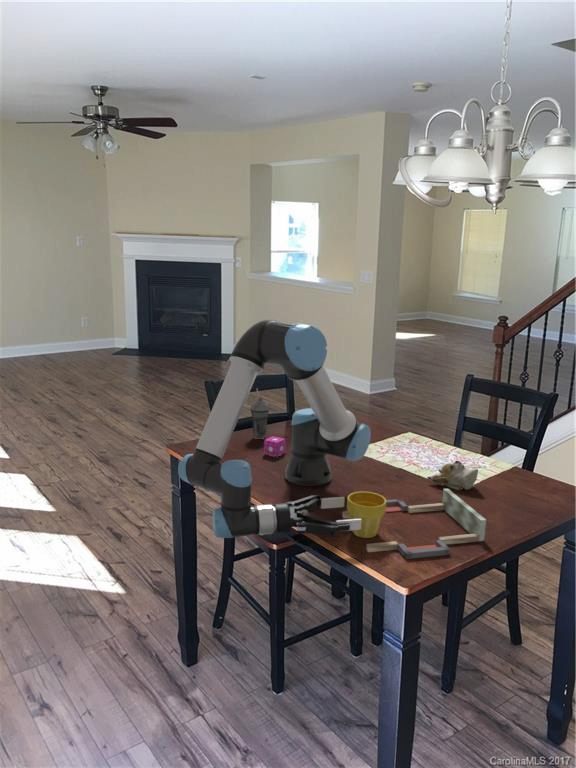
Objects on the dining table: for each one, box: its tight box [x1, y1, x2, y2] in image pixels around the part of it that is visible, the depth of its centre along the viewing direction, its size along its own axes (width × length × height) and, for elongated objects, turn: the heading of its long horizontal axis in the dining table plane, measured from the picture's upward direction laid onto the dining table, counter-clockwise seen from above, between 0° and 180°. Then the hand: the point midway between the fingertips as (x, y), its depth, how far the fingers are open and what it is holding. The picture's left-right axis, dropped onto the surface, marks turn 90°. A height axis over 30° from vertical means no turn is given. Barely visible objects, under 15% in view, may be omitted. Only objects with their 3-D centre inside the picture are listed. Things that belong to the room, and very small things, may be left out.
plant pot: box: [346, 491, 387, 539], centre depth 165 cm, size 10×10×10 cm
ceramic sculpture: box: [426, 460, 479, 491], centre depth 199 cm, size 11×9×15 cm
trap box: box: [341, 488, 487, 553], centre depth 168 cm, size 21×32×6 cm, turn 103°
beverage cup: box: [250, 388, 270, 438], centre depth 239 cm, size 7×7×20 cm
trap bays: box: [385, 498, 451, 560], centre depth 168 cm, size 31×12×2 cm, turn 13°
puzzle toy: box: [263, 436, 287, 456], centre depth 223 cm, size 6×6×6 cm
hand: (352, 512), depth 163 cm, fingers open, 13 cm apart
